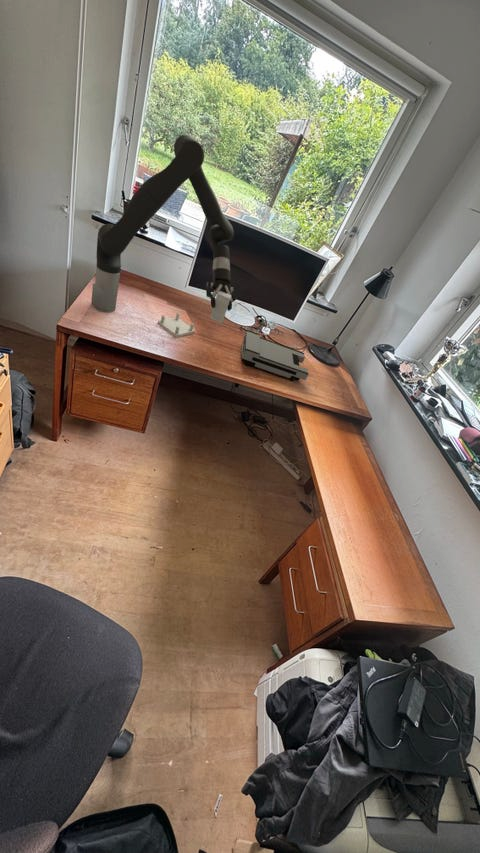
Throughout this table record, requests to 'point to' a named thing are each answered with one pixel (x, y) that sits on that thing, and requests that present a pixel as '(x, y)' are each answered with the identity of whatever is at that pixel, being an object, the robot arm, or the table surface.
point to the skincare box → (220, 306)
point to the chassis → (176, 326)
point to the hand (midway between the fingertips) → (221, 308)
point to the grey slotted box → (272, 357)
